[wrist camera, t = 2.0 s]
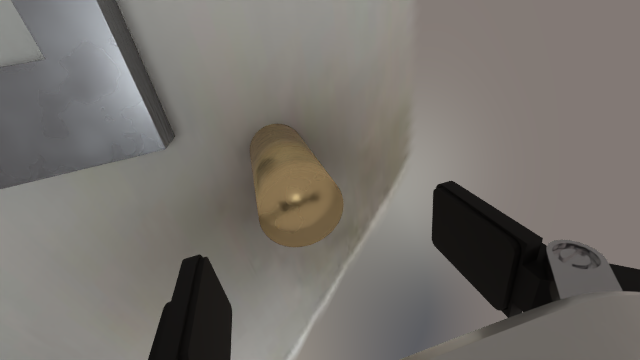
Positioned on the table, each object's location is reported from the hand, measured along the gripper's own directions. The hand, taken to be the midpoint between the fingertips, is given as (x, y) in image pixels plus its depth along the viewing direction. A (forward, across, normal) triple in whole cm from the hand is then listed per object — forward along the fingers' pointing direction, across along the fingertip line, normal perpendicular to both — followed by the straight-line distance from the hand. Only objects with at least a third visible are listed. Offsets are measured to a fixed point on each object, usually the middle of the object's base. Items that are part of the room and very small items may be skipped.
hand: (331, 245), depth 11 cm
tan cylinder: (+13, +1, 0) cm, 13 cm away
